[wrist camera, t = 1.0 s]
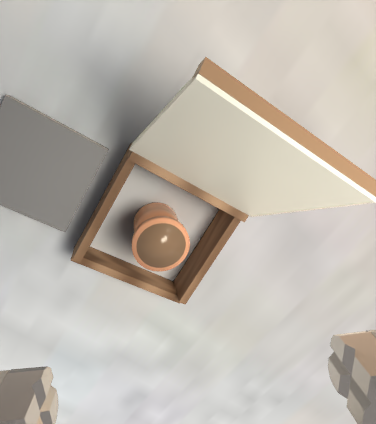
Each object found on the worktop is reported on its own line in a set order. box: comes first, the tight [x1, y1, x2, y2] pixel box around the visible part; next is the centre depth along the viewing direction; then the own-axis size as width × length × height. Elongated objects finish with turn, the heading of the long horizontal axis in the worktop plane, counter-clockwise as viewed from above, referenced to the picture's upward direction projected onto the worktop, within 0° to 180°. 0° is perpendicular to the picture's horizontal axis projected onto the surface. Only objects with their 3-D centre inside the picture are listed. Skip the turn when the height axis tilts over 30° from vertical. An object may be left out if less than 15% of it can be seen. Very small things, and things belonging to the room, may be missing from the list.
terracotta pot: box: [132, 203, 190, 271], centre depth 41 cm, size 7×7×7 cm
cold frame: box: [71, 143, 249, 304], centre depth 41 cm, size 16×16×6 cm
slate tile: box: [0, 95, 109, 232], centre depth 38 cm, size 12×12×1 cm
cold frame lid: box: [129, 57, 376, 217], centre depth 30 cm, size 17×16×2 cm
